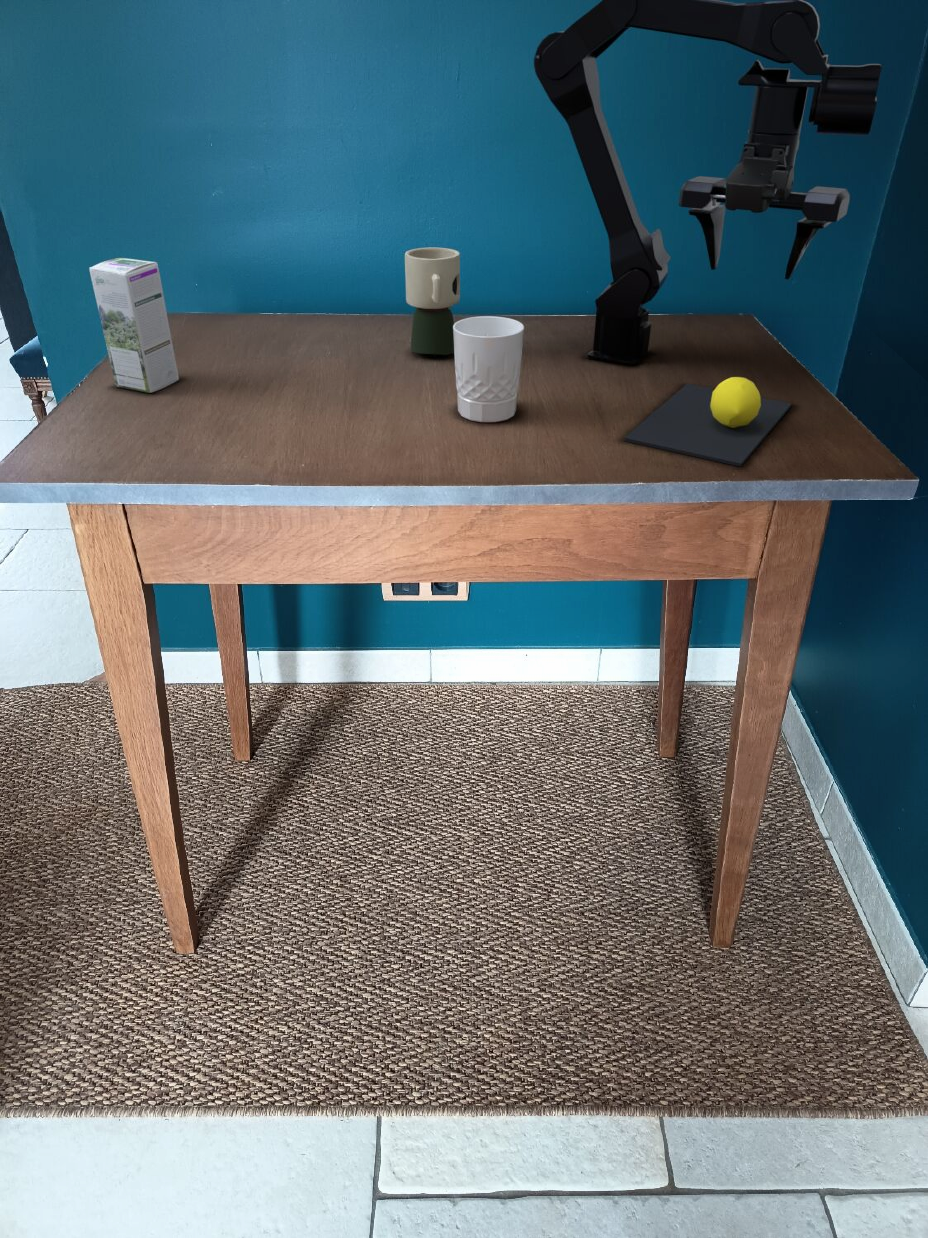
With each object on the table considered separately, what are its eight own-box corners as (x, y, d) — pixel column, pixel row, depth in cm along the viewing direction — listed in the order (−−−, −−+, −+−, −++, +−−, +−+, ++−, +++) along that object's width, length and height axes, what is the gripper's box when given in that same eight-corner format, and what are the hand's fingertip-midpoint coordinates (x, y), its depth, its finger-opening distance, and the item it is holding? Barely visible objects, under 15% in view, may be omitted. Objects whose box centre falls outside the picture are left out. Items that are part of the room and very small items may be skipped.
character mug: (465, 364, 121) (465, 261, 114) (411, 367, 121) (408, 263, 113) (454, 339, 130) (454, 242, 123) (404, 341, 130) (401, 244, 122)
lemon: (759, 438, 100) (768, 390, 97) (708, 435, 101) (716, 387, 98) (752, 414, 106) (761, 368, 103) (705, 411, 107) (712, 366, 104)
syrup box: (181, 379, 116) (160, 259, 108) (149, 395, 112) (125, 271, 104) (145, 373, 118) (122, 255, 110) (113, 388, 114) (86, 265, 106)
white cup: (473, 429, 103) (473, 340, 98) (441, 406, 109) (440, 321, 103) (533, 417, 106) (537, 330, 101) (499, 395, 112) (502, 312, 106)
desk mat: (623, 440, 101) (624, 437, 100) (686, 386, 115) (687, 383, 115) (740, 466, 95) (741, 463, 95) (791, 406, 109) (792, 403, 109)
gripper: (670, 133, 103) (654, 277, 112) (842, 145, 95) (810, 299, 104) (703, 124, 111) (686, 259, 120) (864, 134, 103) (833, 278, 112)
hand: (749, 273), depth 114 cm, fingers open, 9 cm apart
